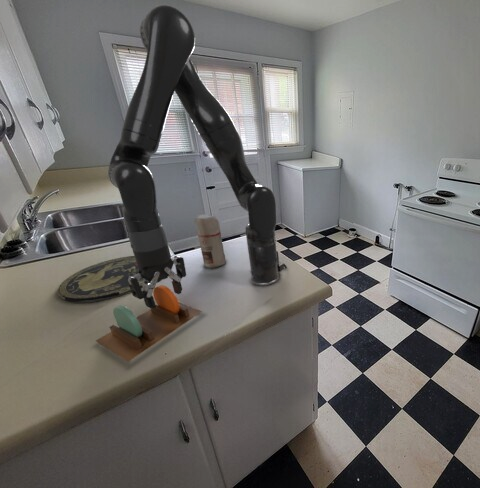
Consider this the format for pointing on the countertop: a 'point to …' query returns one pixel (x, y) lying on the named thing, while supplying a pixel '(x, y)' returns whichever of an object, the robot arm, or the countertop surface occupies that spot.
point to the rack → (147, 331)
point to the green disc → (127, 321)
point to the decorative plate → (100, 281)
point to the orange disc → (166, 299)
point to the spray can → (210, 240)
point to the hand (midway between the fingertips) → (165, 299)
